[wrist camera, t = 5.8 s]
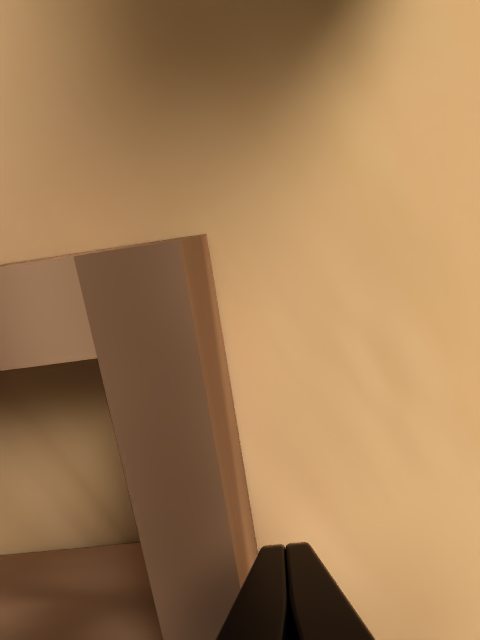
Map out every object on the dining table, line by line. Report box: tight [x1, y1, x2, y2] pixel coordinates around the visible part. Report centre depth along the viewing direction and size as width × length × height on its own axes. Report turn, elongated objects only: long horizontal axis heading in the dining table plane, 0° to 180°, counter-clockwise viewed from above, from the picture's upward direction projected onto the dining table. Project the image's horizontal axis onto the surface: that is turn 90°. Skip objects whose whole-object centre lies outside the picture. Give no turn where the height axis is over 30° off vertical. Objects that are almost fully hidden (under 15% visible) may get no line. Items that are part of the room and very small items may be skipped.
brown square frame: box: [0, 234, 258, 640], centre depth 11 cm, size 12×12×4 cm
